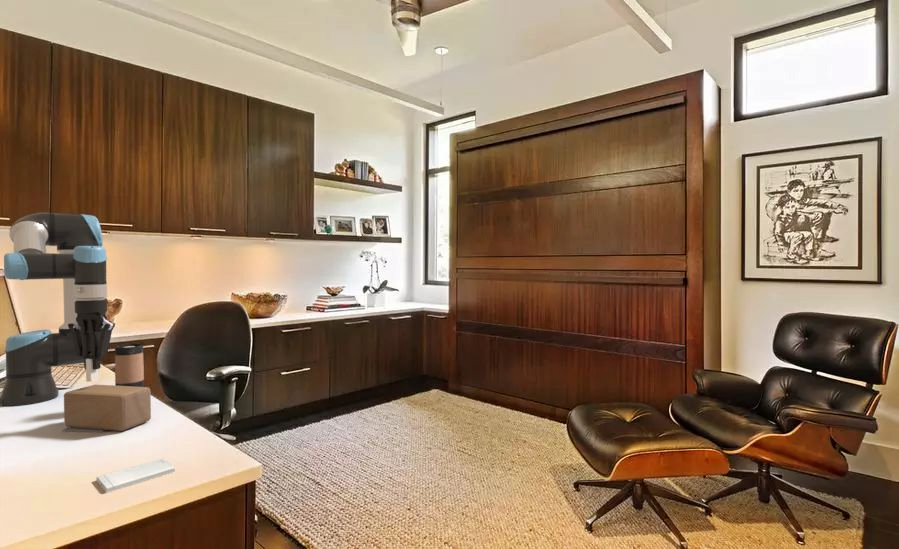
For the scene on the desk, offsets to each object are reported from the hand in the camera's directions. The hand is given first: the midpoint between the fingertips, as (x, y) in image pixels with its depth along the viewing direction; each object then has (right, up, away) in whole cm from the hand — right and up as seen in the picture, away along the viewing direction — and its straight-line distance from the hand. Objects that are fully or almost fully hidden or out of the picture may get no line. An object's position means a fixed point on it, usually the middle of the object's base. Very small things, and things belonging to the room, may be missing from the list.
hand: (92, 380), depth 136 cm
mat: (+3, -12, 0) cm, 13 cm away
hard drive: (+36, -14, -35) cm, 52 cm away
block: (-4, -7, 0) cm, 8 cm away
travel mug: (0, -12, +15) cm, 20 cm away
